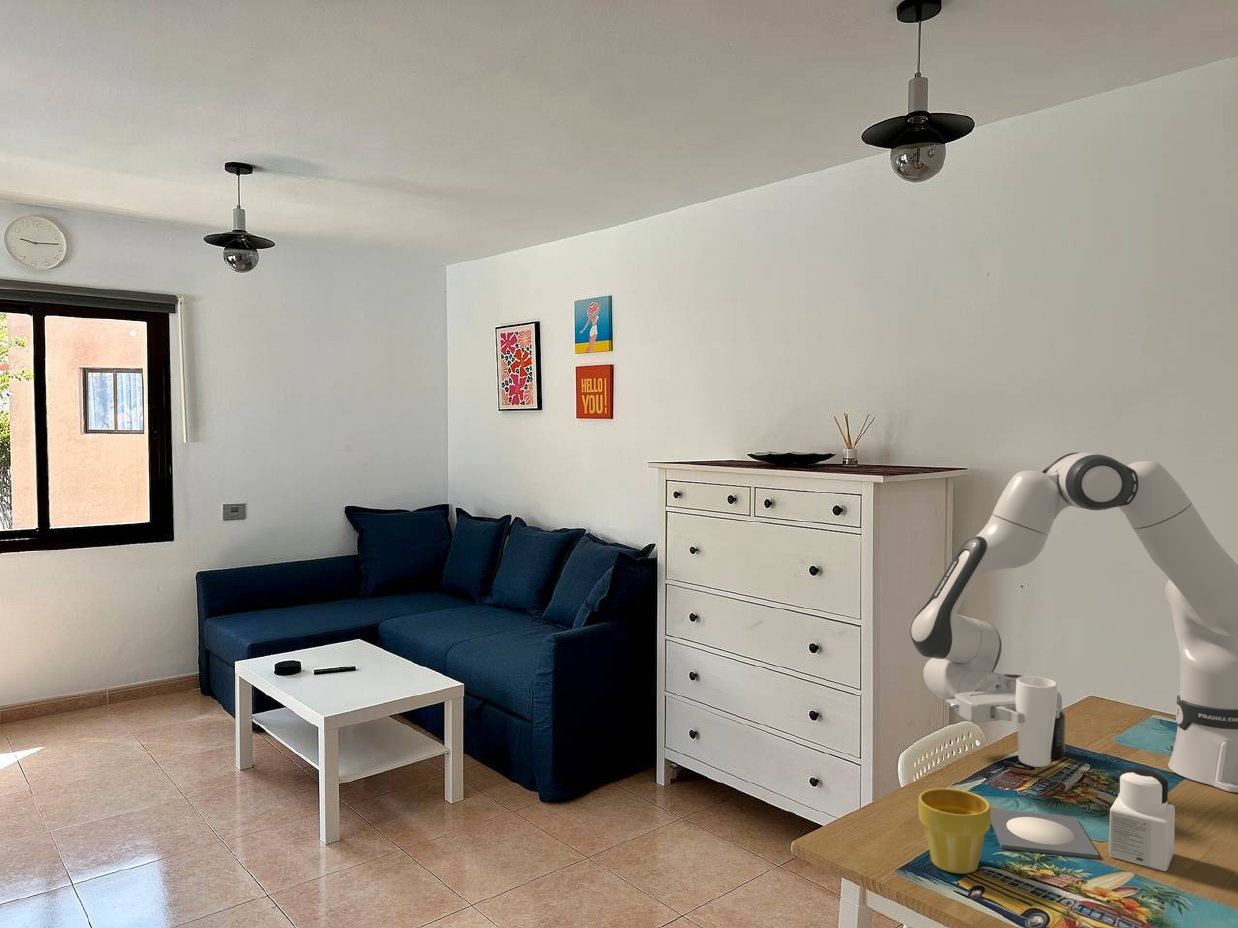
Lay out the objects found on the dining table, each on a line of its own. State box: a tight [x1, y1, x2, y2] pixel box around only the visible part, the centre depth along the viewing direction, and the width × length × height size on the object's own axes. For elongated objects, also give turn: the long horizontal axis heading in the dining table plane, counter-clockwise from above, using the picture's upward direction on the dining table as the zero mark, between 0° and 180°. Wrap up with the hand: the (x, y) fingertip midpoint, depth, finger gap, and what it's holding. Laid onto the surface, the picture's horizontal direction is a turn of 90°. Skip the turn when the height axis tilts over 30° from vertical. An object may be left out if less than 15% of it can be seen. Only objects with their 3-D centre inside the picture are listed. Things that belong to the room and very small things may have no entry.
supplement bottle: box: [1051, 710, 1066, 760], centre depth 180 cm, size 7×7×12 cm
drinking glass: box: [1015, 675, 1058, 768], centre depth 158 cm, size 7×7×15 cm
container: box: [1108, 767, 1176, 872], centre depth 136 cm, size 8×8×13 cm
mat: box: [990, 808, 1100, 860], centre depth 144 cm, size 14×14×1 cm
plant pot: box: [918, 787, 992, 875], centre depth 134 cm, size 10×10×10 cm
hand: (1038, 716), depth 157 cm, fingers closed on drinking glass, 6 cm apart
